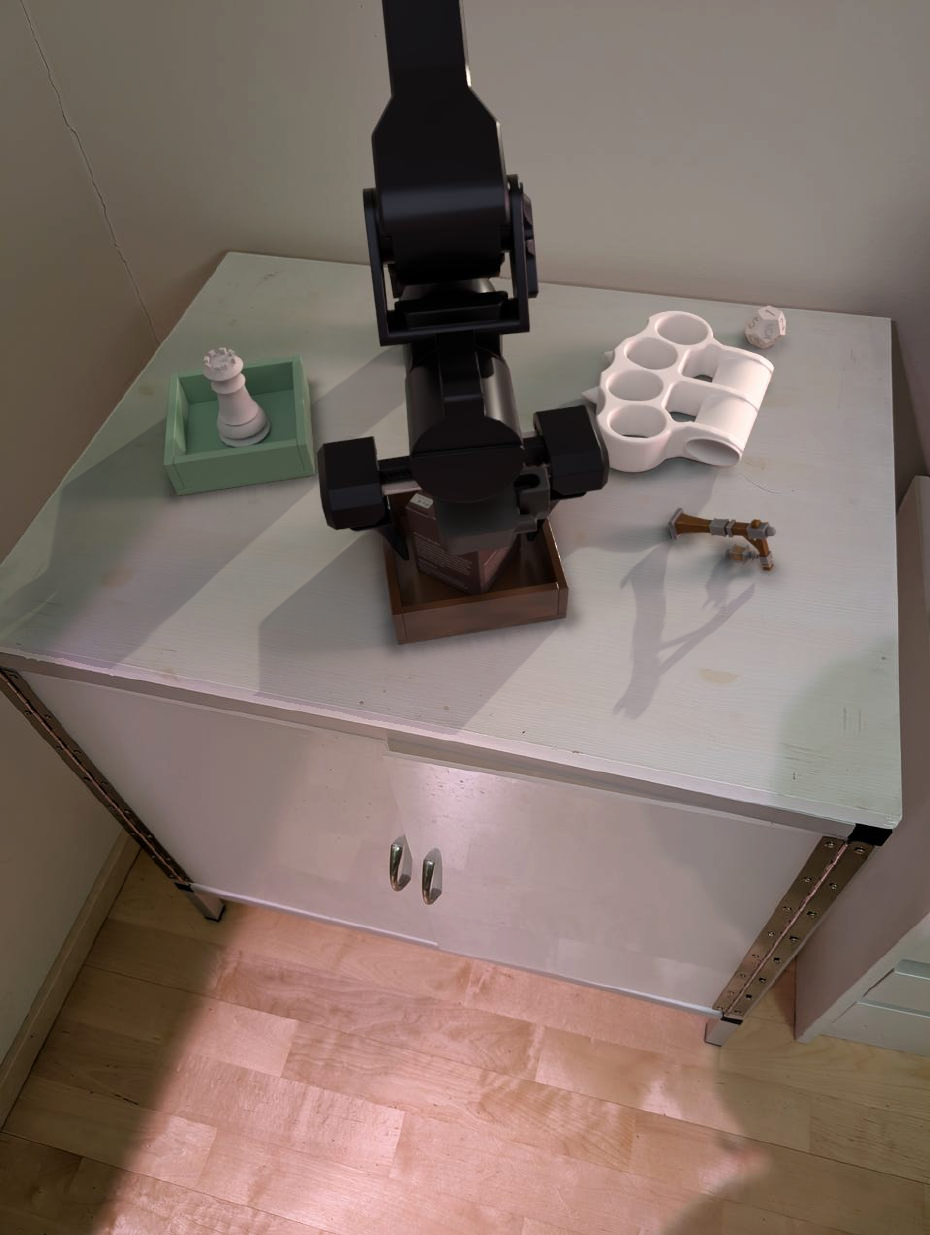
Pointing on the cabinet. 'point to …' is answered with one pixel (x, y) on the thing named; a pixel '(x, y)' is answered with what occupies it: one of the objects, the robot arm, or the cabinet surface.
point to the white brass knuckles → (677, 395)
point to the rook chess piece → (234, 401)
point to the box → (455, 570)
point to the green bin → (215, 465)
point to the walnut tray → (443, 610)
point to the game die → (765, 327)
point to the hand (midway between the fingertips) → (467, 546)
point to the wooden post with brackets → (724, 527)
